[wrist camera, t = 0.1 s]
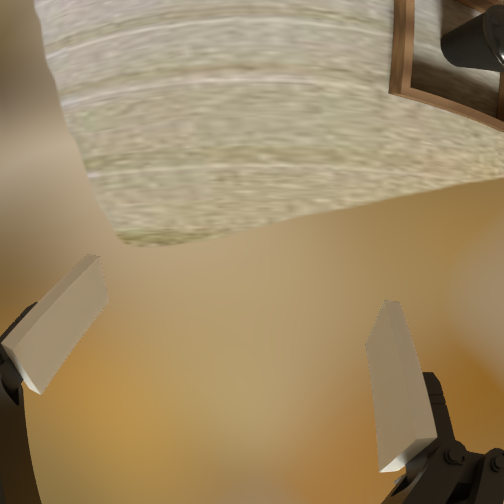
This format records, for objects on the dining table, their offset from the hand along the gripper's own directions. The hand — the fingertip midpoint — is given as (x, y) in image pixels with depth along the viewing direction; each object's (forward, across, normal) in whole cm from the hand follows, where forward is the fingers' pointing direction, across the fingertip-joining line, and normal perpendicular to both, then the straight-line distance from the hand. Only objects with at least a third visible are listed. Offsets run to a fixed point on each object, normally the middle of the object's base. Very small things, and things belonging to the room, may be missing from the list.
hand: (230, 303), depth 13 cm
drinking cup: (+28, +21, +20) cm, 41 cm away
